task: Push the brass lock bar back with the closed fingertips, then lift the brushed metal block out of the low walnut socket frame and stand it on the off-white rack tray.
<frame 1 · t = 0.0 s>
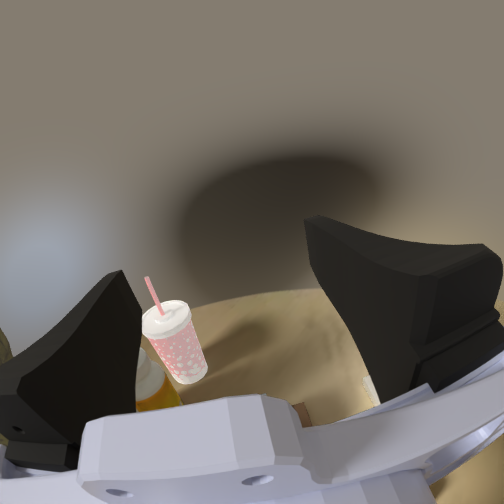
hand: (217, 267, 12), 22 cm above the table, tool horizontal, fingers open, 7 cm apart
beverage cup: (191, 371, 37), on the table
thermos: (91, 486, 22), on the table
supplement bottle: (166, 418, 30), on the table
rack tray: (418, 397, 25), on the table
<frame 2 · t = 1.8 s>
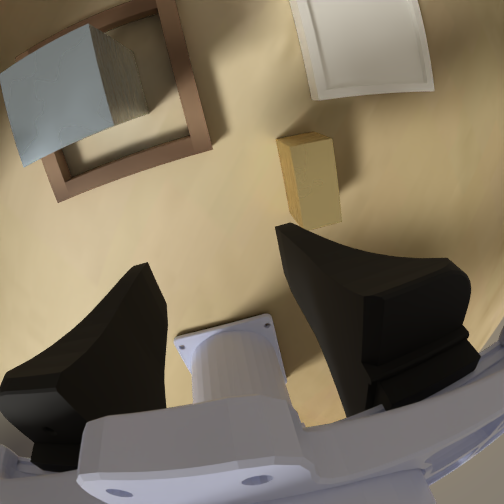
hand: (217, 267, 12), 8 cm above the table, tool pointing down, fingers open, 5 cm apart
socket: (109, 94, 15), on the table
lock bar: (309, 179, 18), point 1 cm above the table, slide at 0.0 cm
rack tray: (362, 29, 15), on the table
brushed metal block: (86, 94, 11), in the socket
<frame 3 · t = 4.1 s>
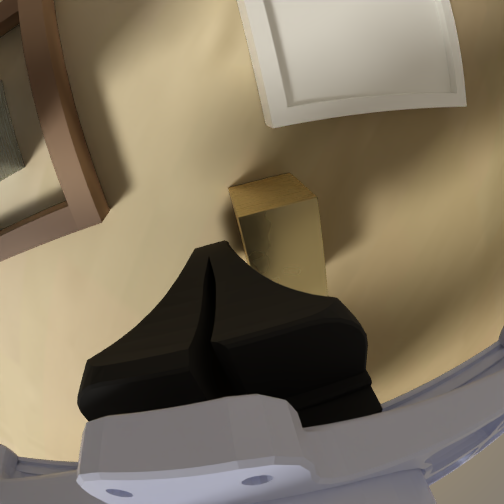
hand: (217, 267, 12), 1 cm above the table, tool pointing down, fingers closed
lock bar: (280, 255, 11), point 1 cm above the table, slide at 0.8 cm, touching gripper
rack tray: (353, 4, 9), on the table
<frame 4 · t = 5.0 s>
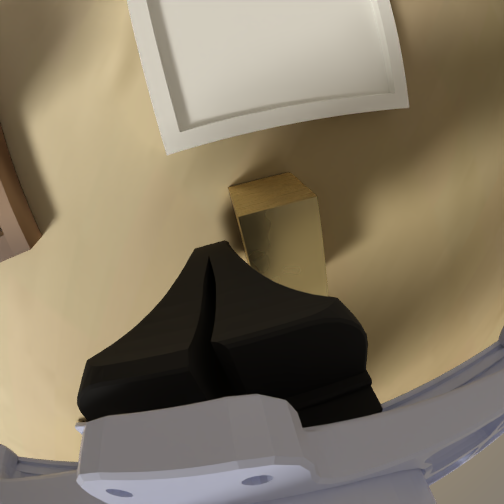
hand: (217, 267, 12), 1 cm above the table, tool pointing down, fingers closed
lock bar: (280, 254, 11), point 1 cm above the table, slide at 4.4 cm, touching gripper
rack tray: (265, 7, 8), on the table
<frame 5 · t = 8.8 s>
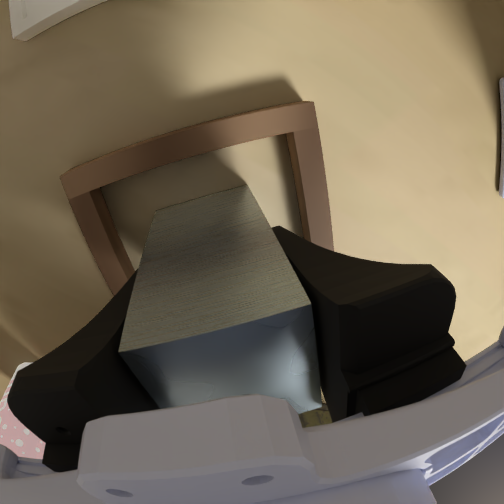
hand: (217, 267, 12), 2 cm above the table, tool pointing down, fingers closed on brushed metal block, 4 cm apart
beverage cup: (44, 381, 17), on the table
socket: (213, 239, 14), on the table
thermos: (290, 428, 23), on the table
brushed metal block: (220, 291, 10), in the socket, touching gripper
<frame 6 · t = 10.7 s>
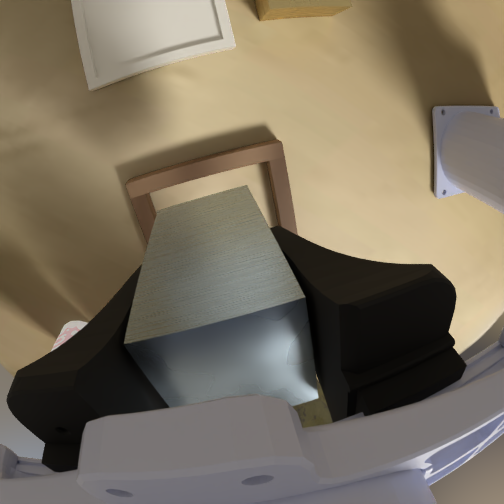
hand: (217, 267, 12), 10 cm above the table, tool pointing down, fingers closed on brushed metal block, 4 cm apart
beverage cup: (84, 337, 25), on the table
socket: (220, 225, 22), on the table
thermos: (276, 381, 31), on the table
rack tray: (148, 6, 14), on the table
brushed metal block: (220, 288, 11), point 11 cm above the table, touching gripper
when the fingers open (4 cm above the table, at t = 12.9 s): brushed metal block stays where it is, resting on rack tray.
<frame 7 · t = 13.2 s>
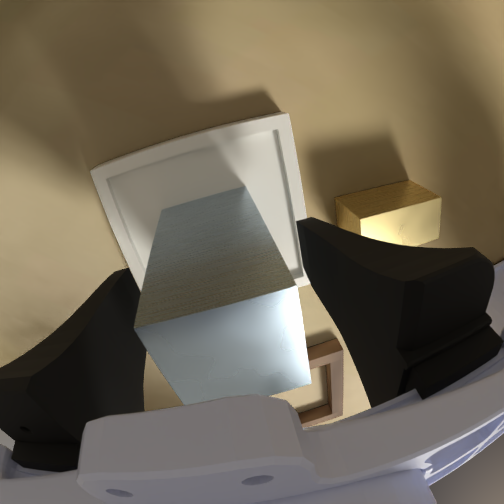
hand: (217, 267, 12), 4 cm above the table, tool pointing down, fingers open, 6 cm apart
socket: (280, 395, 23), on the table
lock bar: (389, 217, 15), point 1 cm above the table, slide at 4.4 cm
rack tray: (211, 221, 15), on the table
brushed metal block: (221, 281, 11), point 5 cm above the table, touching rack tray
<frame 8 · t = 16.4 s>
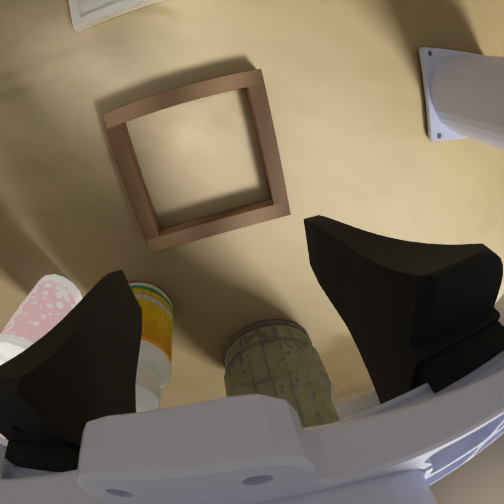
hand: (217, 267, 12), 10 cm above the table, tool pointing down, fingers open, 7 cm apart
beverage cup: (60, 295, 23), on the table
socket: (199, 160, 20), on the table
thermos: (267, 350, 29), on the table
supplement bottle: (142, 305, 24), on the table
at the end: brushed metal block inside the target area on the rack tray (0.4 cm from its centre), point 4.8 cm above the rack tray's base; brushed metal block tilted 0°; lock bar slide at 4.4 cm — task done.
